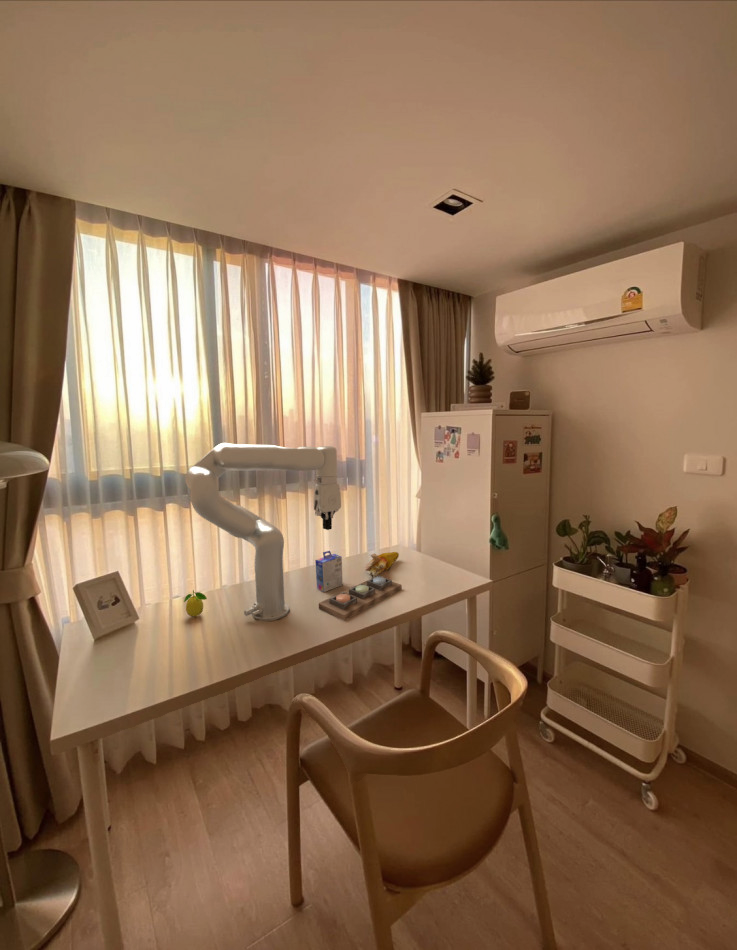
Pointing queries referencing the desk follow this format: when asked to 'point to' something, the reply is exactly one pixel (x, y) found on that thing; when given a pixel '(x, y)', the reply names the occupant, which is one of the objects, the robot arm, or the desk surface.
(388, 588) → the button panel
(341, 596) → the button terracotta
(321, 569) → the ink cartridge box
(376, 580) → the button slate
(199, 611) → the lemon
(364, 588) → the button sage
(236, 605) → the desk surface
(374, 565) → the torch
